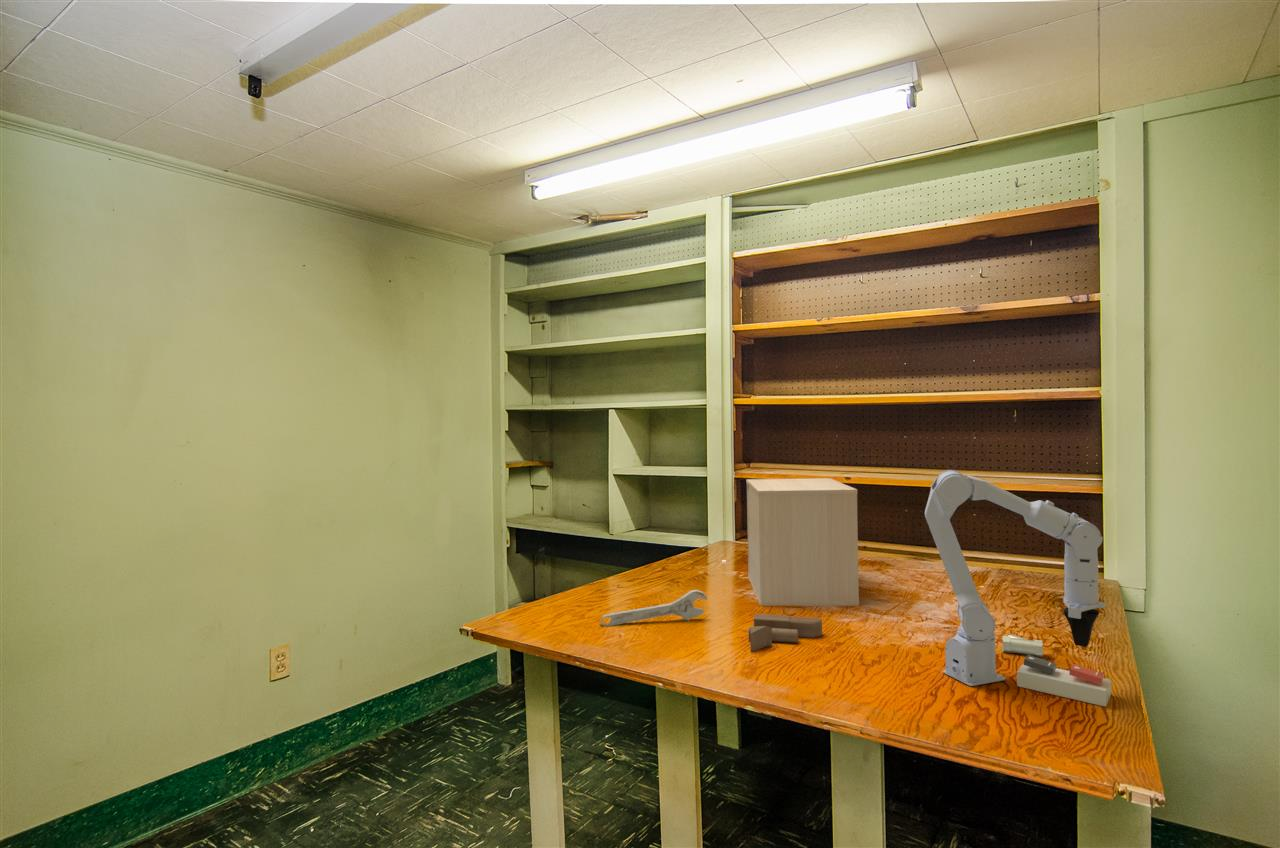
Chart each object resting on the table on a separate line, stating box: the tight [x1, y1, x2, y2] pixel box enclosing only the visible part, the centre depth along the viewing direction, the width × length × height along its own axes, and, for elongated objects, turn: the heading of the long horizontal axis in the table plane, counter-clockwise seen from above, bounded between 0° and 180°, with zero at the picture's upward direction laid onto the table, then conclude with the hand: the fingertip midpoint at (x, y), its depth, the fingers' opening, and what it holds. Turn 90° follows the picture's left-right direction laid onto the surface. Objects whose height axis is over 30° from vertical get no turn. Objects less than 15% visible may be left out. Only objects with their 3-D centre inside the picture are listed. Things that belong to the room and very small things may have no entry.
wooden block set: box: [748, 613, 823, 652], centre depth 163 cm, size 17×6×18 cm
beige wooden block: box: [745, 477, 860, 607], centre depth 210 cm, size 35×29×34 cm
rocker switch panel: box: [1016, 662, 1112, 707], centre depth 132 cm, size 15×7×3 cm, turn 48°
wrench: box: [600, 589, 708, 627], centre depth 181 cm, size 8×2×30 cm
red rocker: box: [1069, 663, 1105, 685], centre depth 129 cm, size 5×3×1 cm, turn 48°
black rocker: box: [1023, 654, 1058, 675], centre depth 134 cm, size 5×3×1 cm, turn 48°
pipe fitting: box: [1002, 634, 1044, 658], centre depth 153 cm, size 8×4×7 cm
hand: (1081, 645), depth 132 cm, fingers closed
